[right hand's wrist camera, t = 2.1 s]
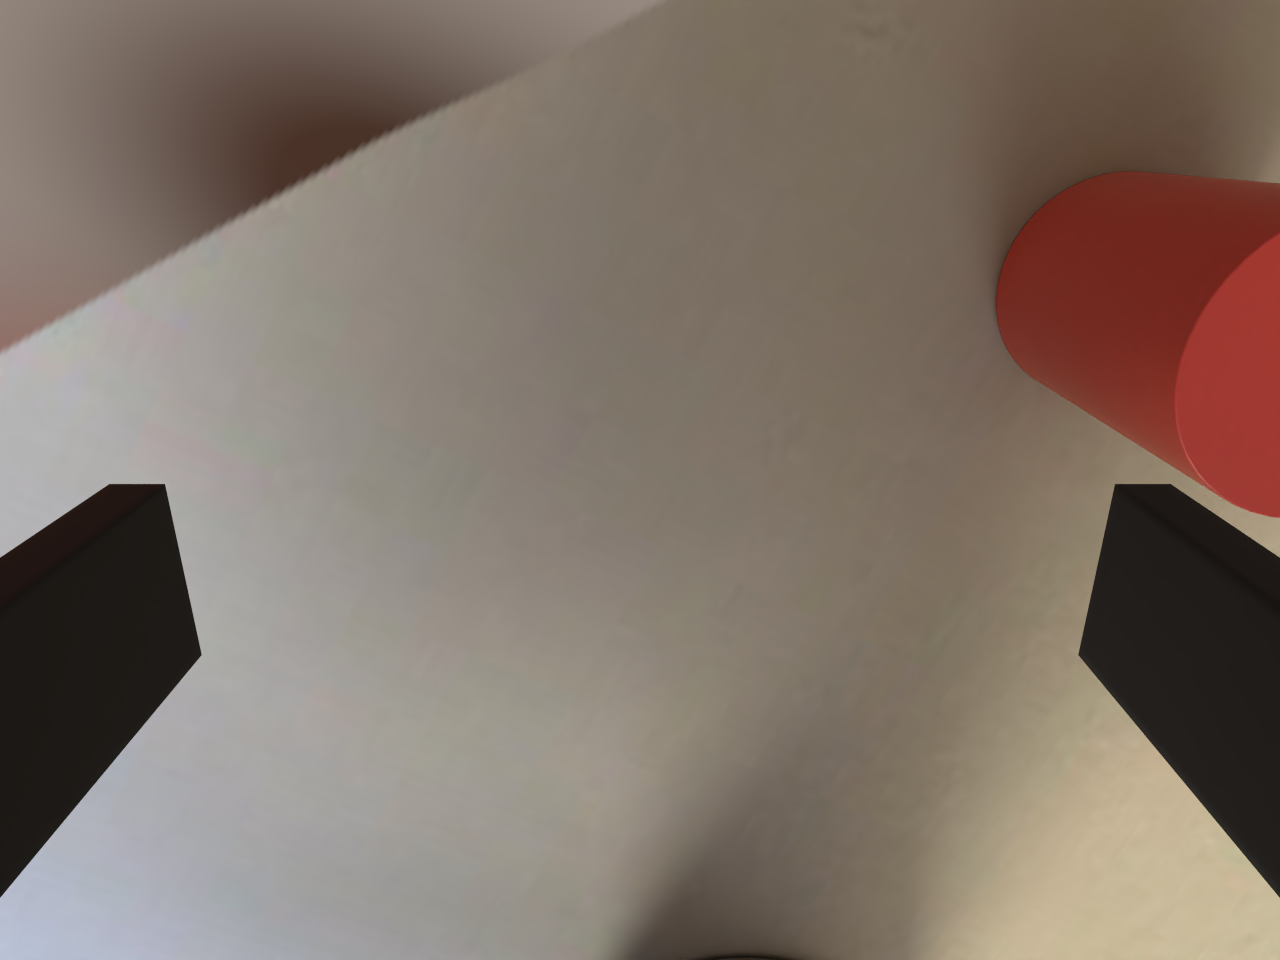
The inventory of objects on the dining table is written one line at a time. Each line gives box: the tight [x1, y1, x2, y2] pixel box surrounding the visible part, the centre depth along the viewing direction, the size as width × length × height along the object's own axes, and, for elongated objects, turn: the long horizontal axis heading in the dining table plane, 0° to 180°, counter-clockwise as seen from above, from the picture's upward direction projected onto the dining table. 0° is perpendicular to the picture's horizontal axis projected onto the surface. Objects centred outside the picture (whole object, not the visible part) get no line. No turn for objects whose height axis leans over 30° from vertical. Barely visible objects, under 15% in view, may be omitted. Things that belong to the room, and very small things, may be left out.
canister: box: [996, 171, 1280, 518], centre depth 25 cm, size 8×8×11 cm
